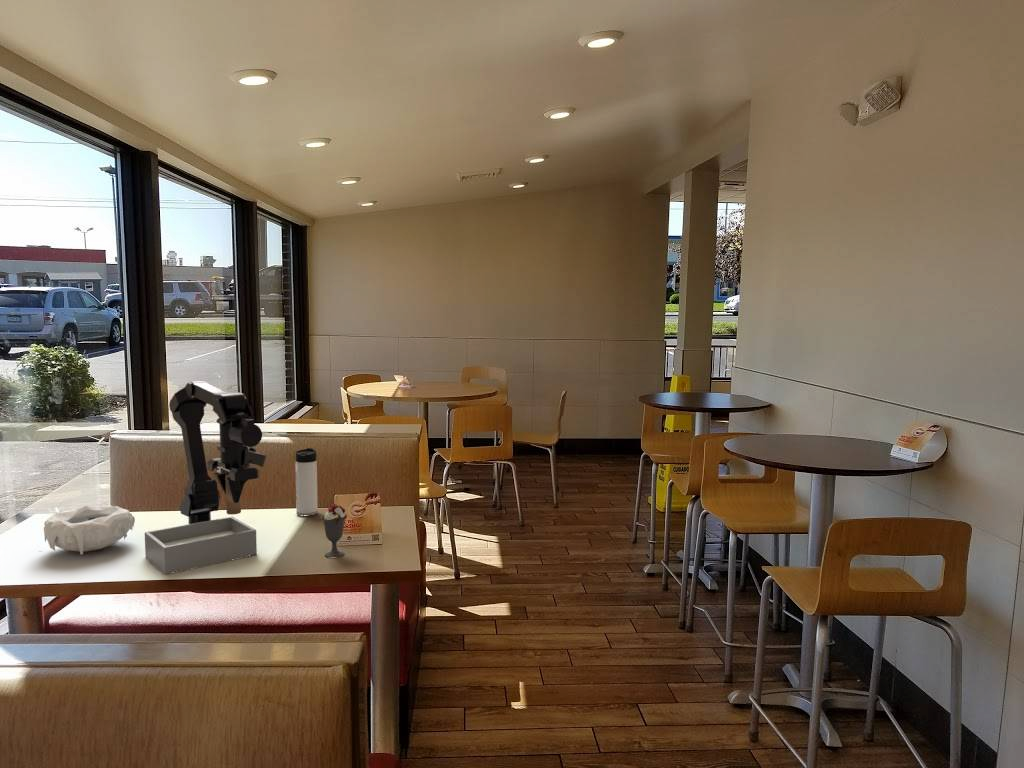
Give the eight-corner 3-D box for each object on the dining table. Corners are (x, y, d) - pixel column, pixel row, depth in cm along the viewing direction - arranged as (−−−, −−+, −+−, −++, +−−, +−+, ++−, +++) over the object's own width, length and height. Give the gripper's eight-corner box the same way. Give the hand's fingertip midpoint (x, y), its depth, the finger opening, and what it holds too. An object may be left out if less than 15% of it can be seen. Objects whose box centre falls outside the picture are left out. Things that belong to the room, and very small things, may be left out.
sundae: (324, 560, 180) (323, 502, 178) (318, 552, 186) (317, 496, 184) (350, 557, 183) (350, 499, 181) (344, 549, 189) (343, 493, 187)
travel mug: (321, 511, 225) (319, 448, 223) (313, 517, 218) (312, 452, 216) (301, 510, 225) (300, 447, 224) (293, 516, 219) (291, 451, 217)
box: (145, 557, 181) (144, 532, 181) (233, 539, 196) (232, 516, 195) (165, 574, 169) (164, 547, 169) (256, 554, 184) (256, 529, 183)
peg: (224, 512, 187) (223, 474, 186) (237, 510, 189) (236, 472, 188) (229, 515, 184) (228, 477, 183) (243, 512, 187) (242, 475, 186)
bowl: (33, 549, 187) (31, 511, 186) (118, 532, 202) (116, 497, 201) (57, 568, 173) (55, 528, 172) (147, 549, 188) (145, 511, 187)
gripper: (278, 443, 184) (279, 503, 185) (247, 433, 197) (248, 489, 199) (234, 448, 176) (236, 510, 178) (205, 438, 190) (207, 496, 191)
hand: (233, 501), depth 186 cm, fingers closed on peg, 3 cm apart
